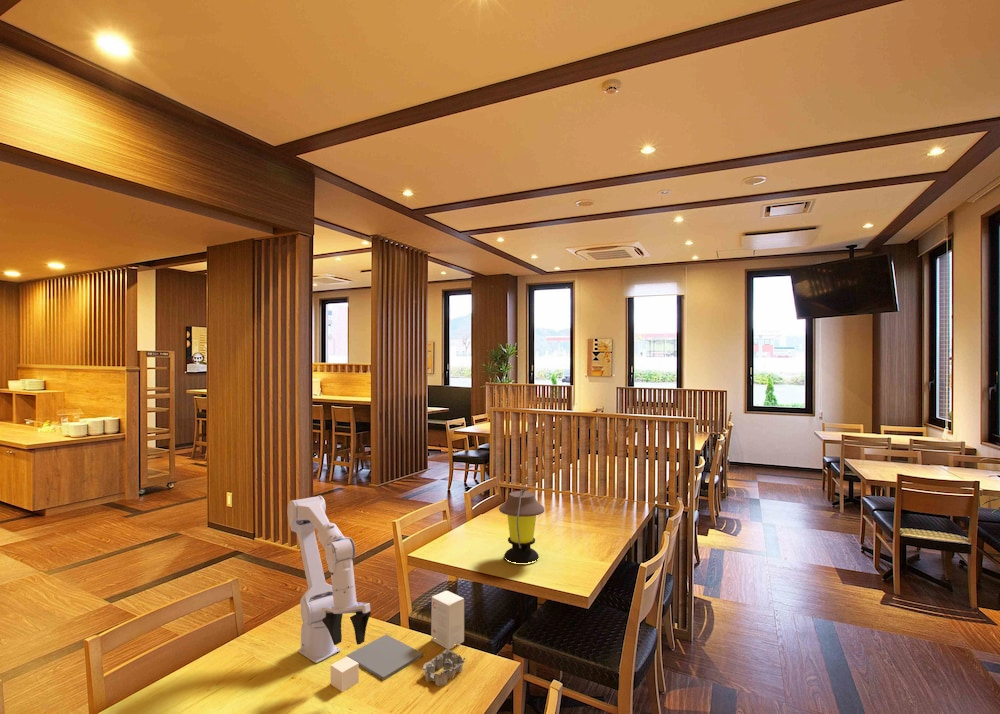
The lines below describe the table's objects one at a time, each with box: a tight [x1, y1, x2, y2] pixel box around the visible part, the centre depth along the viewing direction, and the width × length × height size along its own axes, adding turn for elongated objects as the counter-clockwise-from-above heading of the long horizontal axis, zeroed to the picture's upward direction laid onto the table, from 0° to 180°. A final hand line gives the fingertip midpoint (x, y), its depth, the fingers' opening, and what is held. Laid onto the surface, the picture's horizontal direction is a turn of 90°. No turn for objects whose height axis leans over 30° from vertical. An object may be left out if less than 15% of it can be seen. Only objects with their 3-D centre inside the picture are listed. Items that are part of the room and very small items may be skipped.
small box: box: [430, 590, 465, 651], centre depth 153 cm, size 8×6×13 cm
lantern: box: [498, 484, 545, 563], centre depth 217 cm, size 25×19×30 cm
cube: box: [330, 655, 360, 692], centre depth 132 cm, size 5×5×5 cm
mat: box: [346, 634, 424, 681], centre depth 144 cm, size 16×14×1 cm
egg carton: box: [422, 648, 466, 687], centre depth 137 cm, size 11×8×4 cm
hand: (349, 643), depth 132 cm, fingers open, 7 cm apart
